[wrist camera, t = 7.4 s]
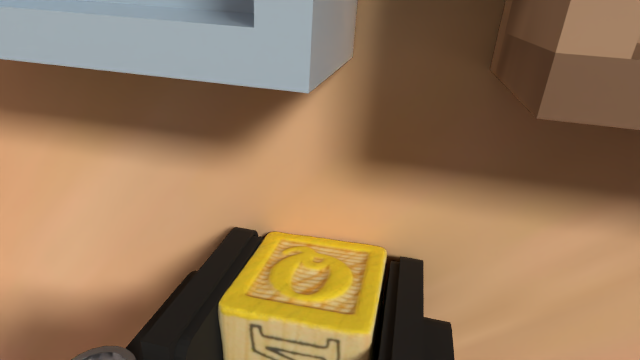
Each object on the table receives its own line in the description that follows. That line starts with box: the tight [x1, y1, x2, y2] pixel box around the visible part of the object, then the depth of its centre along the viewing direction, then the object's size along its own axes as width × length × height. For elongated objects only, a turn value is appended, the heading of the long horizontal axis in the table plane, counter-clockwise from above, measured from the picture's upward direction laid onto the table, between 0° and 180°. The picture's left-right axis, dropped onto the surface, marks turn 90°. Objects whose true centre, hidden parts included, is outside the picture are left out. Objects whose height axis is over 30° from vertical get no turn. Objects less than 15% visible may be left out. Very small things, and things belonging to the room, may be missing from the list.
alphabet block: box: [218, 232, 387, 360], centre depth 9 cm, size 3×3×3 cm
